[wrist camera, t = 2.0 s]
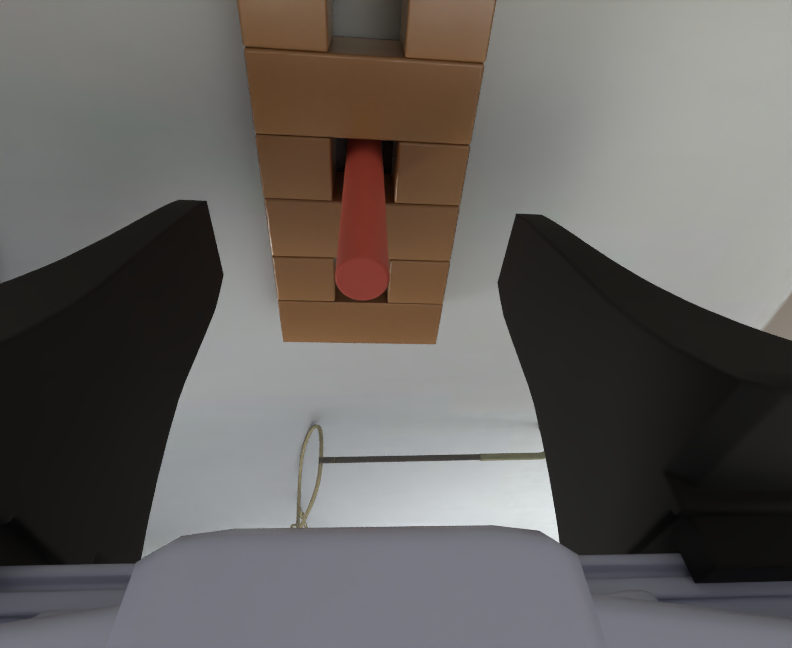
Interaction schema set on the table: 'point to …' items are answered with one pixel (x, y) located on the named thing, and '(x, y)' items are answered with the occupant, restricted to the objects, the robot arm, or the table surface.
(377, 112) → the caddy
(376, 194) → the red cylindrical rod
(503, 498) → the table surface
